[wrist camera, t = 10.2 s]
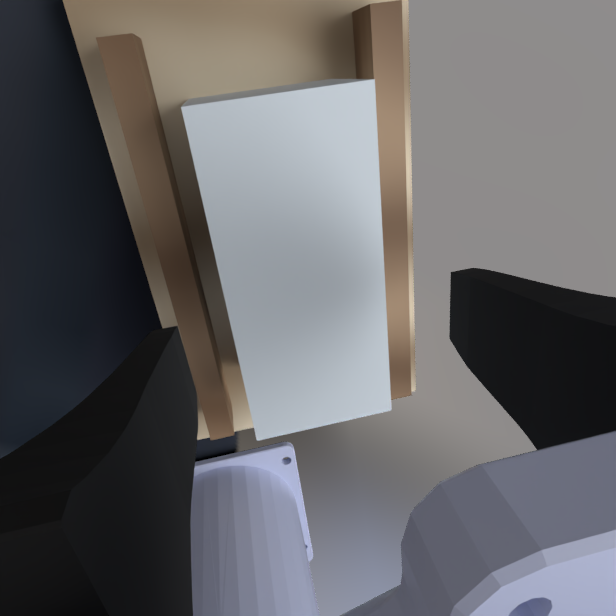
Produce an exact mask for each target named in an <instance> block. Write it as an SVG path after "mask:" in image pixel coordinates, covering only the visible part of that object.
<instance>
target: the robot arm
mask: <svg viewBox="0 0 616 616" xmlns="http://www.w3.org/2000/svg"><path fill="white" fill-rule="evenodd" d="M450 297H451V298H450V340H451V342H452V343H453V345H454V346H455V348H456V350H457V351H458V353H459V355H460V356H461V358H462V359H463V361H464V362H465V364H466V365H467V367H468V368H469V369H470V370H471V371H472V373H473V374H474V375H475V376H476V377H477V378H478V380H479V381H480V382H481V383H482V384H483V385H484V387H485V388H486V389H487V390H488V391H489V392H490V393H491V394H492V396H493V397H494V398H495V399H496V400H497V401H498V402H499V404H501V406H502V407H503V408H504V409H505V410H506V411H507V413H508V414H509V415H510V416H511V417H512V418H513V419H514V420H515V422H516V423H517V424H518V425H519V426H520V428H521V429H522V430H523V431H524V432H525V434H526V435H527V436H528V438H529V439H530V440H531V442H532V443H533V445H534V446H535V447H536V449H537V450H536V451H532V452H528V453H524V454H520V455H516V456H512V457H508V458H504V459H500V460H496V461H491V462H487V463H484V464H479V465H476V466H474V467H472V468H469V469H467V470H465V471H463V472H460V473H458V474H456V475H454V476H452V477H449V478H447V479H445V480H443V481H441V482H439V484H437V485H436V486H435V487H434V488H433V489H432V490H431V492H429V493H428V494H427V495H426V496H425V497H424V498H423V499H422V500H421V502H419V503H418V504H417V505H416V506H415V507H414V509H413V510H412V512H411V514H410V517H409V520H408V523H407V526H406V530H405V533H404V536H403V539H402V542H401V554H402V580H401V585H399V586H397V587H395V588H393V589H391V590H389V591H387V592H385V593H383V594H381V595H379V596H377V597H375V598H373V599H372V600H370V601H368V602H366V603H364V604H362V605H360V606H358V607H356V608H354V609H352V610H350V611H348V612H346V613H344V614H342V615H340V616H616V298H615V297H607V296H602V295H596V294H590V293H585V292H580V291H576V290H570V289H565V288H561V287H556V286H553V285H548V284H544V283H540V282H536V281H532V280H528V279H524V278H520V277H516V276H512V275H508V274H504V273H499V272H495V271H490V270H485V269H478V268H470V269H465V270H460V271H455V272H451V295H450ZM197 435H198V407H197V392H196V388H195V385H194V381H193V378H192V374H191V371H190V367H189V364H188V360H187V357H186V353H185V350H184V346H183V343H182V339H181V336H180V332H179V329H178V326H173V327H168V328H163V329H158V330H153V331H152V332H151V333H149V334H148V335H147V336H146V338H145V339H144V340H143V341H142V342H141V343H140V344H139V345H138V346H137V347H136V348H135V350H134V351H133V352H132V353H131V354H130V355H129V356H128V357H127V358H126V359H125V360H124V361H123V363H122V364H121V365H120V366H119V367H118V368H117V369H116V370H115V371H114V372H113V373H112V374H111V375H110V376H109V377H108V378H107V379H106V380H105V381H104V382H103V383H102V384H101V385H100V386H98V387H97V388H96V389H95V390H94V391H93V392H92V393H91V394H90V395H89V396H88V397H87V398H86V399H84V400H83V401H82V402H81V403H80V404H79V405H77V406H76V407H75V408H74V409H73V410H71V411H70V412H69V413H67V414H66V415H65V416H64V417H62V418H61V419H60V420H58V421H57V422H56V423H54V424H53V425H52V426H50V427H49V428H47V429H46V430H44V431H43V432H41V433H40V434H39V435H37V436H36V437H34V438H33V439H31V440H30V441H28V442H27V443H25V444H24V445H22V446H21V447H19V448H18V449H16V450H15V451H13V452H11V453H10V454H8V455H6V456H5V457H3V458H1V459H0V616H320V614H319V609H318V604H317V600H316V594H315V589H314V585H313V580H312V575H311V571H310V565H309V562H310V561H311V560H312V558H313V552H312V546H311V541H310V535H309V529H308V524H307V518H306V513H305V508H304V501H303V496H302V490H301V485H300V479H299V474H298V468H297V462H296V457H295V452H294V448H293V445H292V444H291V443H290V442H281V443H276V444H272V445H268V446H264V447H259V448H254V449H250V450H246V451H241V452H237V453H232V454H228V455H224V456H219V457H215V458H211V459H206V460H202V461H197V462H195V458H196V447H197ZM285 457H289V458H288V459H283V458H285Z"/></svg>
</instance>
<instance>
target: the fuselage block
mask: <svg viewBox="0 0 616 616" xmlns="http://www.w3.org/2000/svg"><path fill="white" fill-rule="evenodd" d="M181 109H182V114H183V118H184V122H185V127H186V131H187V136H188V140H189V144H190V149H191V153H192V158H193V162H194V166H195V171H196V175H197V180H198V184H199V188H200V193H201V197H202V201H203V206H204V210H205V215H206V219H207V223H208V228H209V232H210V237H211V241H212V245H213V250H214V254H215V259H216V263H217V267H218V272H219V276H220V281H221V285H222V289H223V294H224V298H225V303H226V307H227V311H228V316H229V320H230V325H231V329H232V333H233V338H234V342H235V347H236V351H237V355H238V360H239V364H240V369H241V373H242V377H243V382H244V386H245V391H246V395H247V399H248V404H249V408H250V412H251V417H252V421H253V426H254V430H255V434H256V439H257V441H259V440H263V439H268V438H272V437H276V436H280V435H285V434H289V433H294V432H298V431H303V430H307V429H311V428H316V427H320V426H325V425H329V424H333V423H338V422H342V421H347V420H351V419H355V418H359V417H364V416H369V415H373V414H377V413H382V412H386V411H391V390H390V370H389V350H388V330H387V311H386V291H385V271H384V251H383V232H382V212H381V192H380V172H379V152H378V133H377V113H376V93H375V79H325V80H318V81H311V82H304V83H297V84H290V85H283V86H276V87H269V88H262V89H255V90H248V91H240V92H233V93H226V94H219V95H212V96H205V97H198V98H191V99H188V100H187V101H186V102H185V103H184V104H183V105H182V106H181Z"/></svg>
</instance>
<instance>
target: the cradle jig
mask: <svg viewBox="0 0 616 616" xmlns="http://www.w3.org/2000/svg"><path fill="white" fill-rule="evenodd" d="M63 3H64V7H65V10H66V13H67V16H68V20H69V23H70V26H71V30H72V33H73V36H74V39H75V43H76V46H77V49H78V53H79V56H80V59H81V62H82V66H83V69H84V72H85V76H86V79H87V82H88V85H89V89H90V92H91V95H92V98H93V102H94V105H95V108H96V112H97V115H98V118H99V121H100V125H101V128H102V131H103V135H104V138H105V141H106V144H107V148H108V151H109V154H110V158H111V161H112V164H113V167H114V171H115V174H116V177H117V181H118V184H119V187H120V190H121V194H122V197H123V200H124V204H125V207H126V210H127V213H128V217H129V220H130V223H131V227H132V230H133V233H134V236H135V240H136V243H137V246H138V250H139V253H140V256H141V259H142V263H143V266H144V269H145V273H146V276H147V279H148V282H149V286H150V289H151V292H152V296H153V299H154V302H155V305H156V309H157V312H158V315H159V319H160V322H161V325H162V328H168V327H173V326H178V329H179V332H180V336H181V339H182V343H183V346H184V350H185V353H186V357H187V360H188V364H189V367H190V371H191V374H192V378H193V381H194V385H195V388H196V392H197V407H198V435H197V440H199V439H204V438H208V437H210V439H211V440H215V439H219V438H224V437H228V436H233V435H234V432H235V431H239V430H244V429H248V428H252V427H254V426H253V421H252V417H251V412H250V408H249V404H248V399H247V395H246V391H245V386H244V382H243V377H242V373H241V369H240V364H239V360H238V355H237V351H236V347H235V342H234V338H233V333H232V329H231V325H230V320H229V316H228V311H227V307H226V303H225V298H224V294H223V289H222V285H221V281H220V276H219V272H218V267H217V263H216V259H215V254H214V250H213V245H212V241H211V237H210V232H209V228H208V223H207V219H206V215H205V210H204V206H203V201H202V197H201V193H200V188H199V184H198V180H197V175H196V171H195V166H194V162H193V158H192V153H191V149H190V144H189V140H188V136H187V131H186V127H185V122H184V118H183V114H182V109H181V106H182V105H183V104H184V103H185V102H186V101H187V100H188V99H191V98H198V97H205V96H212V95H219V94H226V93H233V92H240V91H248V90H255V89H262V88H269V87H276V86H283V85H290V84H297V83H304V82H311V81H318V80H325V79H375V93H376V113H377V133H378V152H379V172H380V192H381V212H382V232H383V251H384V271H385V291H386V311H387V330H388V350H389V370H390V390H391V400H393V399H397V398H402V397H406V396H410V395H411V392H414V391H416V381H415V335H414V334H415V329H414V278H413V277H414V276H413V275H414V274H413V223H412V222H413V221H412V167H411V115H410V66H409V65H410V62H409V12H408V10H409V9H408V0H63Z"/></svg>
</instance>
